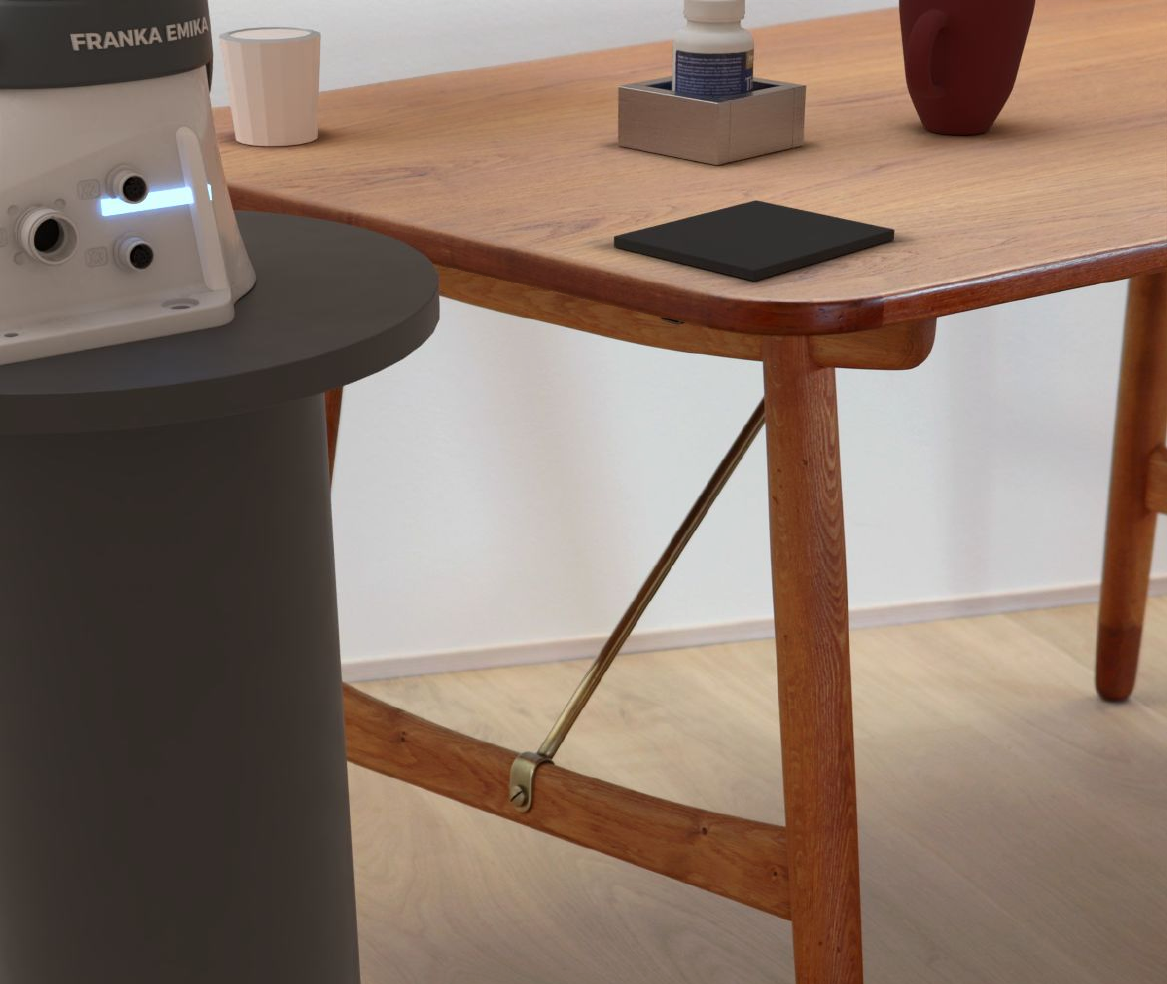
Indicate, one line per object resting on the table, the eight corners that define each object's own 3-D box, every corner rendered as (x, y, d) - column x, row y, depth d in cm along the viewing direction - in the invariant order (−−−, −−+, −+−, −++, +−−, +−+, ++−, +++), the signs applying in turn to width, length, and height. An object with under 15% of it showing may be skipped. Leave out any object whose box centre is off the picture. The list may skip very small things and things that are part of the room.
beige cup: (290, 151, 125) (283, 43, 122) (206, 142, 128) (197, 36, 125) (346, 133, 130) (340, 29, 128) (263, 125, 133) (256, 23, 130)
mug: (989, 155, 124) (1005, -25, 119) (857, 142, 128) (868, -33, 123) (1038, 123, 133) (1054, -44, 129) (914, 112, 137) (926, -51, 132)
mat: (754, 281, 96) (754, 270, 95) (613, 246, 102) (613, 236, 102) (894, 239, 103) (895, 229, 103) (755, 210, 110) (755, 199, 110)
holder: (716, 165, 121) (718, 102, 119) (617, 145, 126) (617, 85, 125) (803, 145, 127) (806, 85, 125) (704, 127, 132) (706, 69, 131)
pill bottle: (760, 152, 125) (766, 0, 121) (682, 155, 124) (686, 2, 120) (737, 136, 129) (742, -11, 125) (662, 139, 128) (664, -9, 124)
